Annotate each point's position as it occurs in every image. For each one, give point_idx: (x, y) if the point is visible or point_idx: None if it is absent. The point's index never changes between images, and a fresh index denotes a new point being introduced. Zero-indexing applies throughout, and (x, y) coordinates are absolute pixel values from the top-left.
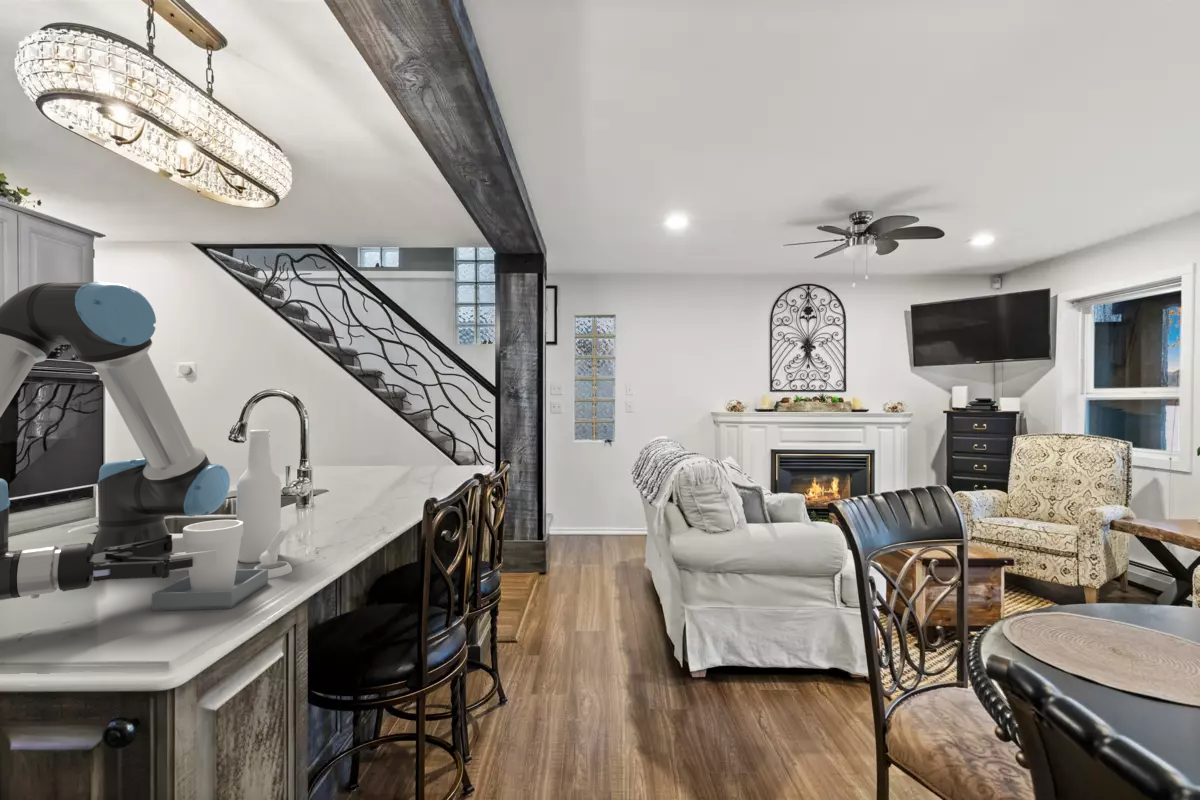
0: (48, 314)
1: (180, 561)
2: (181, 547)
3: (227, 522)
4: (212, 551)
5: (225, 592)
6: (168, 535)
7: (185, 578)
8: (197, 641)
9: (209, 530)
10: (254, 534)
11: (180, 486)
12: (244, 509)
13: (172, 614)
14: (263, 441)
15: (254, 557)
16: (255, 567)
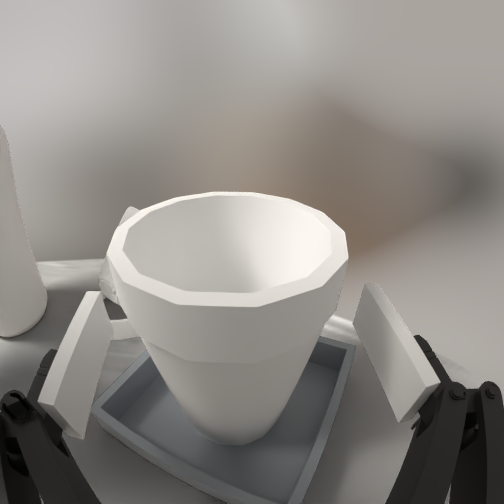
0: None
1: (438, 362)
2: (81, 401)
3: (155, 218)
4: (380, 290)
5: (352, 356)
6: (13, 403)
7: (155, 446)
8: (479, 382)
9: (338, 236)
10: (17, 268)
11: None
12: None
13: (340, 473)
14: None
15: (36, 313)
16: (112, 320)
